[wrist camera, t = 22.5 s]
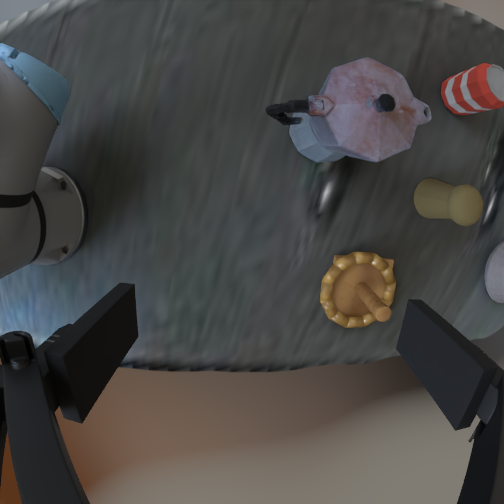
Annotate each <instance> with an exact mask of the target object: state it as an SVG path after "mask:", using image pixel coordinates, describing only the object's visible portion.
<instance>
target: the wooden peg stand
mask: <svg viewBox="0 0 504 504" xmlns="http://www.w3.org/2000/svg"><path fill="white" fill-rule="evenodd" d="M344 256H346V255H334V259H333V263H334V262H335V261H337V260H339V259H341V258H342V257H344ZM382 259H384V260H385V261H387V262H388V263H389V264H390V266H391V269H392V270H393V264H394V260H393V259H391V258H382ZM384 288H385V281H384V279H383V276H382V274H381V271H380V270H378V269H377V268H375V267H374V266H372V265H371V264H354V265H352V266H351V267H349V268H347V269H345V270H343V271H342V272H341V273H340V275H339V276H338V278H337V279H336V281H335V282H334V284H333V290H332V301H333V303H334V305H335V307H336V309H337V310H338V311H339V312H341V313H343V314H344V315H346V316H348V317H353V316H363V315H365V314H367V313H369V312H370V311H371V312H372V314H373V315H374V316H375V317H376V319H377V320H378V321H380V322H384V321H387V320H388V319H389V318H390V316H391V309H390V308H389V307H388V306H387V305H386V304H385V303H384V302H383V301H382V300H381V299H382V298H383V295H384ZM326 315H327V314H326ZM327 317H328V316H327Z"/></svg>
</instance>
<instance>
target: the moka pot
mask: <svg viewBox="0 0 504 504" xmlns="http://www.w3.org/2000/svg"><path fill="white" fill-rule="evenodd" d="M266 112H267V114H269V115H270V116H271V117H273V118H275V119H277V120H278V121H279V122H281V123H282V124H283V125H290V129H289V135H290V137H291V139H292V142H293V144H294V146H295V147H296V149H297V150H298V152H299V153H301V154H302V155H303V156H305V157H307V158H308V159H310V160H312V161H314V162H316V163H324V162H333V161H337V160H339V159H341V158H342V157H344V156H346V155H347V156H350V157H354V158H358V159H363V160H367V161H372V162H376V163H378V162H380V161H382V160H385V159H387V158H389V157H391V156H393V155H395V154H397V153H399V152H402V151H404V150H407V149H408V148H410V147H411V144H412V141H413V138H414V134H415V131H416V128H417V126H418V125H421V124H424V123H427V122H429V121H430V120H431V111H430V109H429V106H428V105H427V104H425V103H423V102H421V101H419V100H417V99H416V98H415V97H414V96H413V95H412V93H411V90H410V88H409V86H408V84H407V82H406V80H405V78H404V76H402V75H401V74H400V73H398V72H396V71H395V70H393V69H391V68H389V67H387V66H385V65H383V64H381V63H379V62H377V61H375V60H373V59H371V58H367V57H365V58H362V59H359V60H356V61H353V62H350V63H347V64H344V65H341V66H338V67H335V68H333V69H332V70H331V71H330V73H329V75H328V77H327V79H326V81H325V83H324V85H323V87H322V89H321V90H320V92H319V94H318V95H312V96H308V97H307V98H306V100H291V101H288V102H287V103H285V104H284V103H281V104H274V105H271V106H269V107H267V108H266ZM284 112H286V113H291V112H292V113H293V116H292V117H287V115H286V114H285V113H284Z"/></svg>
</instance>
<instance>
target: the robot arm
mask: <svg viewBox="0 0 504 504" xmlns="http://www.w3.org/2000/svg"><path fill="white" fill-rule="evenodd" d="M69 96H70V86H69V84H68V82H67V80H66V79H65V78H64V77H63V76H62V75H60V74H59V73H58V72H56V71H55V70H53V69H52V68H50V67H49V66H47V65H46V64H44V63H42V62H41V61H39V60H37V59H35V58H34V57H32V56H30V55H28V54H26V53H24V52H20V51H19V50H16V49H14V48H13V47H11V46H8V45H5V44H2V43H0V279H1V278H3V277H4V276H6V275H8V274H10V273H12V272H14V271H16V270H18V269H20V268H22V267H24V266H26V265H28V264H39V265H52V264H57V263H60V262H62V261H64V260H66V259H68V258H70V257H71V256H72V255H73V254H74V253H75V252H76V251H77V250H78V249H79V247H80V245H81V244H82V241H83V239H84V236H85V233H86V229H87V219H88V215H87V205H86V201H85V197H84V194H83V192H82V190H81V187H80V186H79V184H78V183H77V181H76V180H75V179H74V178H73V176H72V175H70V174H69V173H68V172H67V171H65V170H63V169H61V168H58V167H42V165H43V162H44V159H45V157H46V154H47V151H48V149H49V146H50V143H51V141H52V138H53V136H54V134H55V131H56V129H57V126H58V125H60V123H61V116H62V113H63V111H64V108H65V106H66V103H67V101H68V99H69ZM137 338H138V326H137V314H136V299H135V284H128V283H119V284H118V285H117V286H116V287H114V288H113V289H112V290H111V291H110V292H109V293H108V294H106V295H105V296H104V297H103V298H102V299H101V300H100V301H98V302H97V303H96V304H95V305H94V306H93V307H92V308H90V309H89V310H88V311H87V312H86V313H85V314H84V315H83V316H82V317H80V318H79V319H78V320H77V321H76V322H75V323H74V324H68V325H66V326H63V327H61V328H59V329H58V330H57V331H56V332H55V333H53V334H52V336H50V337H49V338H48V339H47V341H44V342H43V343H42V344H41V345H40V346H39V347H38V348H37V349H36V350H35V348H34V344H33V339H32V337H31V335H30V334H29V333H27V332H23V331H13V332H9V333H6V334H4V335H2V336H1V337H0V358H1V362H2V365H0V485H1V474H2V464H3V456H4V448H5V441H6V435H7V430H8V437H9V444H10V450H11V456H12V462H13V467H14V471H15V476H16V481H17V485H18V489H19V493H20V497H21V501H22V504H90V503H89V501H88V499H87V496H86V494H85V492H84V490H83V488H82V485H81V483H80V481H79V478H78V476H77V474H76V471H75V469H74V467H73V464H72V461H71V459H70V456H69V453H68V451H67V448H66V445H65V443H64V440H63V437H62V434H61V431H60V428H59V425H58V421H57V419H56V416H55V413H54V412H55V411H56V410H57V408H58V407H59V406H60V409H61V411H62V414H63V417H64V418H66V419H68V420H72V421H75V422H79V423H83V421H84V420H85V418H86V417H87V415H88V413H89V412H90V410H91V409H92V407H93V405H94V403H95V402H96V401H97V399H98V397H99V396H100V394H101V393H102V391H103V390H104V388H105V386H106V385H107V383H108V382H109V380H110V379H111V377H112V376H113V374H114V372H115V371H116V369H117V368H118V366H119V365H120V363H121V362H122V360H123V359H124V357H125V356H126V354H127V353H128V351H129V350H130V348H131V347H132V345H133V344H134V342H135V341H136V339H137ZM396 349H397V350H398V351H399V353H400V354H401V355H402V357H403V358H404V359H405V361H406V362H407V363H408V365H409V366H410V367H411V369H412V370H413V372H414V373H415V374H416V376H417V377H418V378H419V380H420V381H421V383H422V384H423V385H424V387H425V388H426V389H427V391H428V392H429V393H430V395H431V396H432V398H433V399H434V401H435V402H436V403H437V405H438V406H439V408H440V409H441V411H442V412H443V413H444V415H445V416H446V418H447V419H448V421H449V422H450V423H451V425H452V426H453V428H454V429H455V430H459V429H463V428H467V427H470V425H471V423H472V422H473V420H474V418H475V416H476V414H477V415H478V417H479V418H480V419H481V420H480V422H479V424H478V426H477V427H476V429H475V431H474V433H473V434H472V436H471V438H470V440H469V442H471V441H472V439H474V443H473V448H472V452H471V456H470V461H469V465H468V469H467V472H466V476H465V479H464V483H463V486H462V489H461V493H460V496H459V499H458V502H457V504H504V370H503V369H502V368H500V367H499V366H498V365H497V364H496V363H495V362H494V361H493V360H491V358H488V356H487V355H486V354H485V353H483V351H482V350H481V349H480V348H478V347H477V346H476V345H474V344H472V343H471V342H470V341H469V340H468V339H467V338H466V337H464V336H463V335H462V334H461V333H460V332H459V331H458V330H456V329H455V328H454V327H453V326H452V325H451V324H449V323H448V322H447V321H446V320H445V319H444V318H442V317H441V316H440V315H439V314H438V313H436V312H435V311H434V310H433V309H432V308H430V307H429V306H428V305H427V304H426V303H424V302H423V301H422V300H409V299H408V303H407V308H406V312H405V316H404V320H403V324H402V328H401V332H400V336H399V340H398V344H397V347H396Z"/></svg>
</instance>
